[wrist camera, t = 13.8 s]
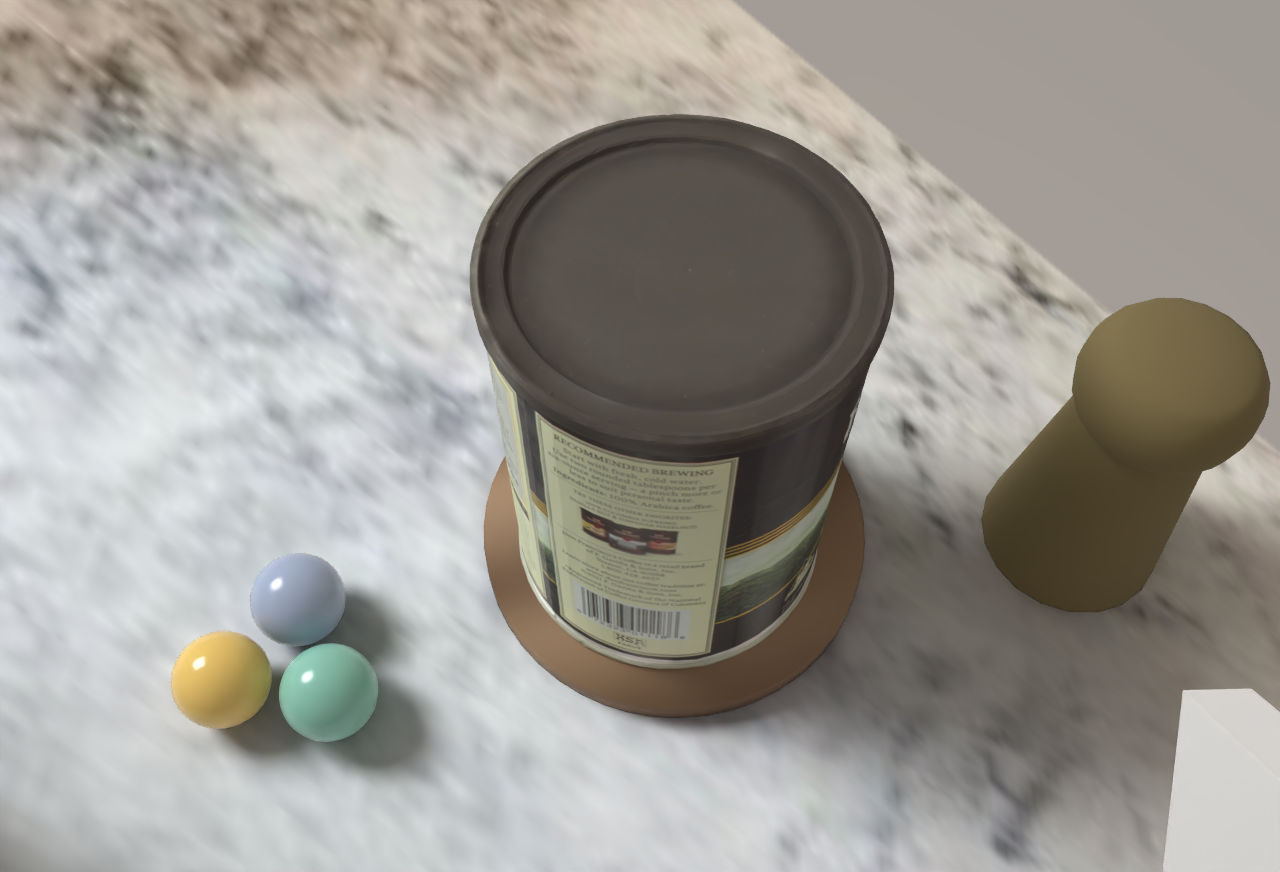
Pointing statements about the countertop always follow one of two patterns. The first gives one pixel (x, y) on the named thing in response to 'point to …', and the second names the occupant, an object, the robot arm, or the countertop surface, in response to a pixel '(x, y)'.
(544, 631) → the trivet
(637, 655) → the coffee can
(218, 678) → the marble amber
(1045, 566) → the cork
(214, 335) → the countertop surface
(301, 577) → the marble blue
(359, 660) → the marble green
